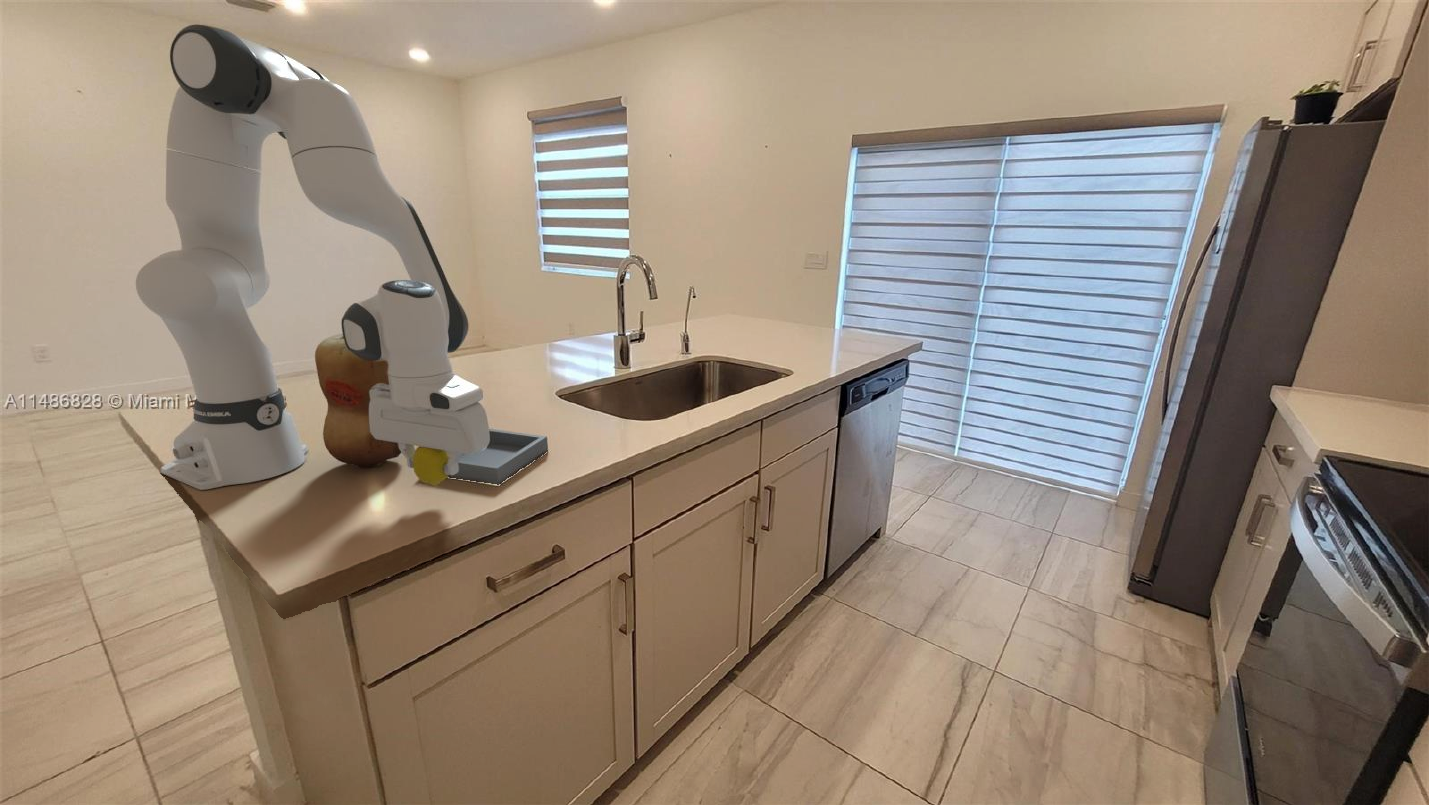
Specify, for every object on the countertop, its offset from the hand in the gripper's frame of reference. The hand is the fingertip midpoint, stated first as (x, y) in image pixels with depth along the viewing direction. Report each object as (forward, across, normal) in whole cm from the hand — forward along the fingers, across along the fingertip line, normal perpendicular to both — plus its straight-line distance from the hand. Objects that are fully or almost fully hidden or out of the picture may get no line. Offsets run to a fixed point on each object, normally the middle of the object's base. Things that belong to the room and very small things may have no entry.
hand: (433, 470), depth 90 cm
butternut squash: (+6, -22, +8) cm, 24 cm away
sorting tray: (+6, -2, +16) cm, 17 cm away
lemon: (+3, 0, 0) cm, 3 cm away
